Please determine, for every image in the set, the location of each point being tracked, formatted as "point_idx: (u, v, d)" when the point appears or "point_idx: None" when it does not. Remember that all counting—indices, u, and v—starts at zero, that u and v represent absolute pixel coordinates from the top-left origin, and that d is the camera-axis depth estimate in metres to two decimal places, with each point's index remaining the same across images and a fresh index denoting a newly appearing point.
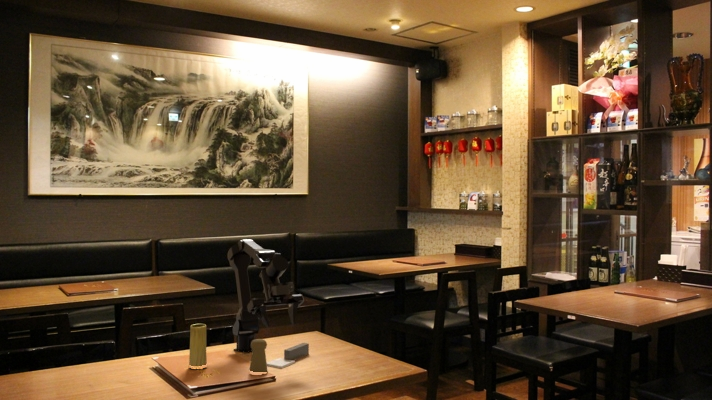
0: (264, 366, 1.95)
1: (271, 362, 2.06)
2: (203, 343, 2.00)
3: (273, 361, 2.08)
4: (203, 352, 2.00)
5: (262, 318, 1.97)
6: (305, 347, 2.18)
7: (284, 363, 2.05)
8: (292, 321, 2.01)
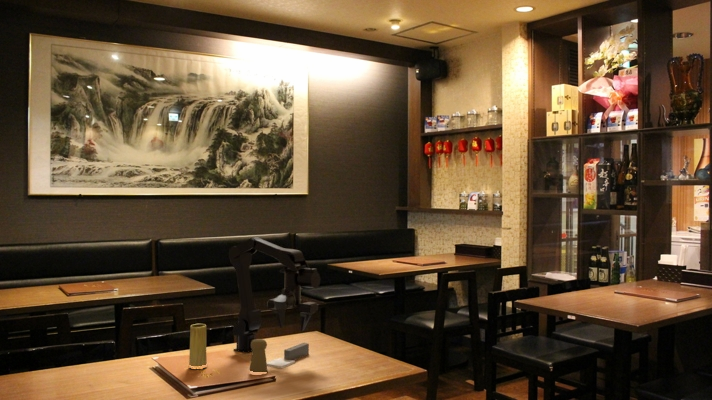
0: (264, 366, 1.95)
1: (271, 362, 2.06)
2: (203, 343, 2.00)
3: (273, 361, 2.08)
4: (203, 352, 2.00)
5: None
6: (305, 347, 2.18)
7: (284, 363, 2.05)
8: None
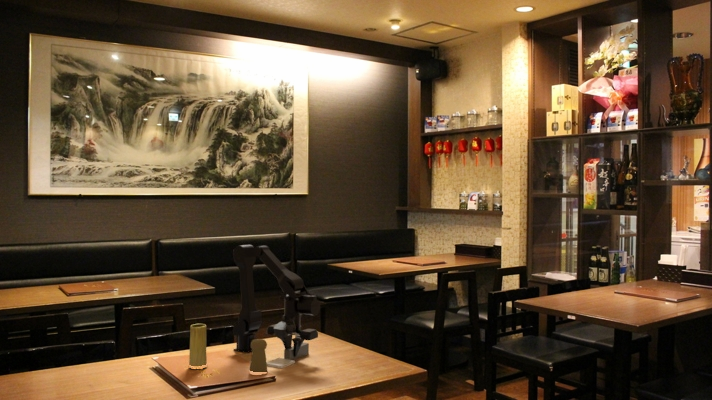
0: (264, 366, 1.95)
1: (271, 362, 2.06)
2: (203, 343, 2.00)
3: (273, 361, 2.08)
4: (203, 352, 2.00)
5: None
6: (305, 347, 2.18)
7: (284, 363, 2.05)
8: None
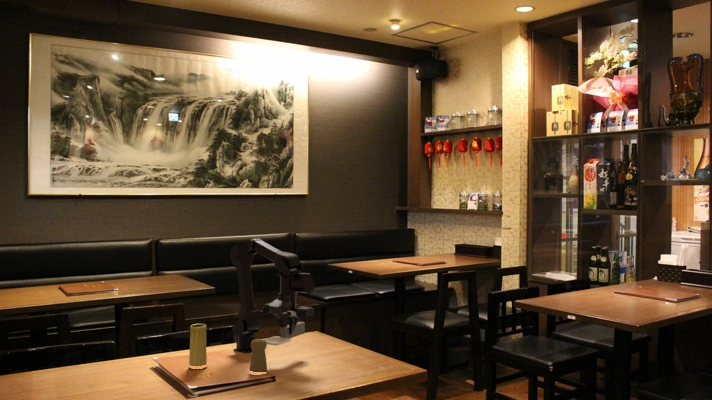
0: (264, 366, 1.95)
1: (267, 340, 2.04)
2: (203, 343, 2.00)
3: (269, 339, 2.05)
4: (203, 352, 2.00)
5: None
6: (301, 326, 2.16)
7: (280, 340, 2.03)
8: None
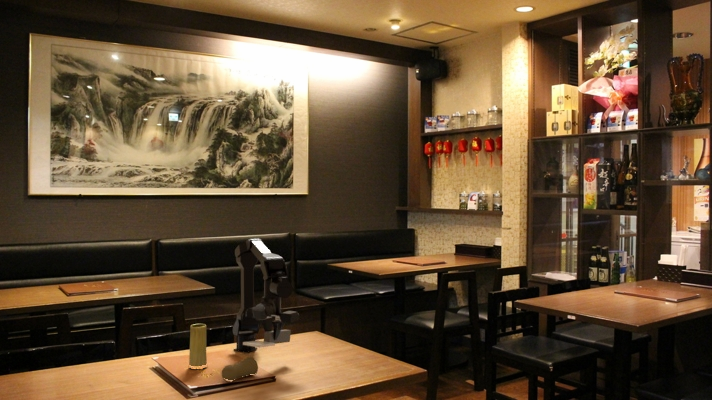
0: (251, 369, 1.90)
1: (249, 342, 1.96)
2: (203, 343, 2.00)
3: (252, 341, 1.97)
4: (203, 352, 2.00)
5: None
6: (286, 333, 2.08)
7: (263, 343, 1.95)
8: None
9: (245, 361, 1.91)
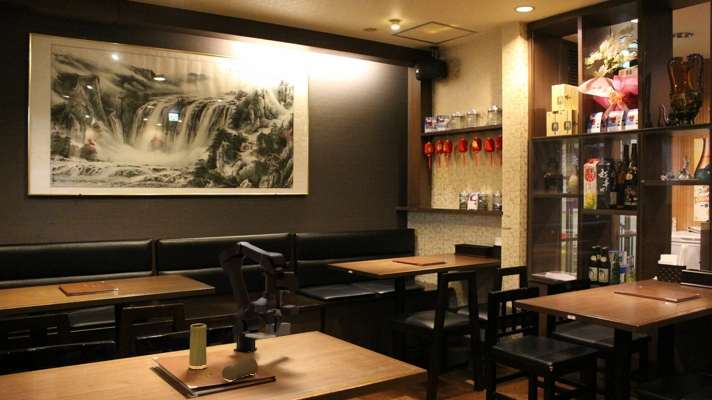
0: (251, 369, 1.90)
1: (252, 334, 2.08)
2: (203, 343, 2.00)
3: (254, 333, 2.09)
4: (203, 352, 2.00)
5: None
6: (286, 326, 2.20)
7: (264, 335, 2.07)
8: None
9: (245, 361, 1.91)
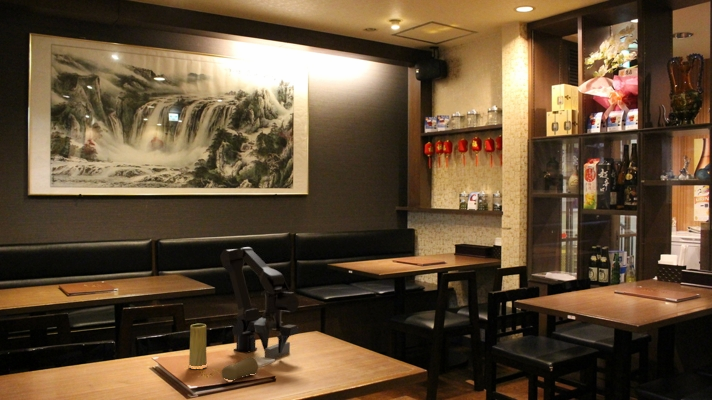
0: (251, 369, 1.90)
1: None
2: (203, 343, 2.00)
3: None
4: (203, 352, 2.00)
5: None
6: (286, 346, 2.20)
7: (264, 361, 2.07)
8: None
9: (245, 361, 1.91)
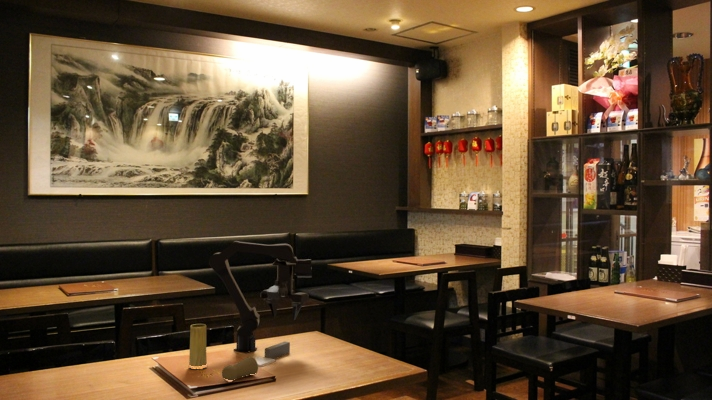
0: (251, 369, 1.90)
1: None
2: (203, 343, 2.00)
3: None
4: (203, 352, 2.00)
5: None
6: (286, 346, 2.20)
7: (264, 361, 2.07)
8: None
9: (245, 361, 1.91)
